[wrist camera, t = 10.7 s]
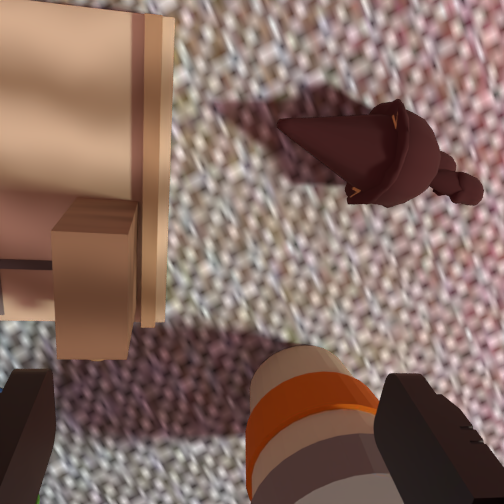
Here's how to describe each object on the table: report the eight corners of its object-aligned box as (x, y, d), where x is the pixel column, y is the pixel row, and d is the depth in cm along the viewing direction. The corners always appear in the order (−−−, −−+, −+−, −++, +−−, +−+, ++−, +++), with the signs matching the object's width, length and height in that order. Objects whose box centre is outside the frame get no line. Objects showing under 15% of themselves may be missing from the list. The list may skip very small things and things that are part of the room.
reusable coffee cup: (331, 301, 39) (414, 434, 25) (386, 400, 44) (479, 555, 30) (202, 373, 40) (214, 538, 26) (270, 462, 45) (310, 639, 31)
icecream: (264, 202, 28) (459, 251, 33) (317, 85, 24) (529, 160, 29) (249, 151, 34) (418, 199, 39) (289, 48, 30) (472, 116, 35)
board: (-71, -10, 27) (-92, -16, 25) (174, 19, 30) (174, 16, 27) (-27, 309, 35) (-40, 325, 33) (165, 312, 37) (164, 327, 35)
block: (76, 197, 31) (50, 230, 25) (138, 201, 32) (128, 234, 26) (80, 316, 35) (57, 373, 28) (136, 317, 35) (126, 373, 29)
